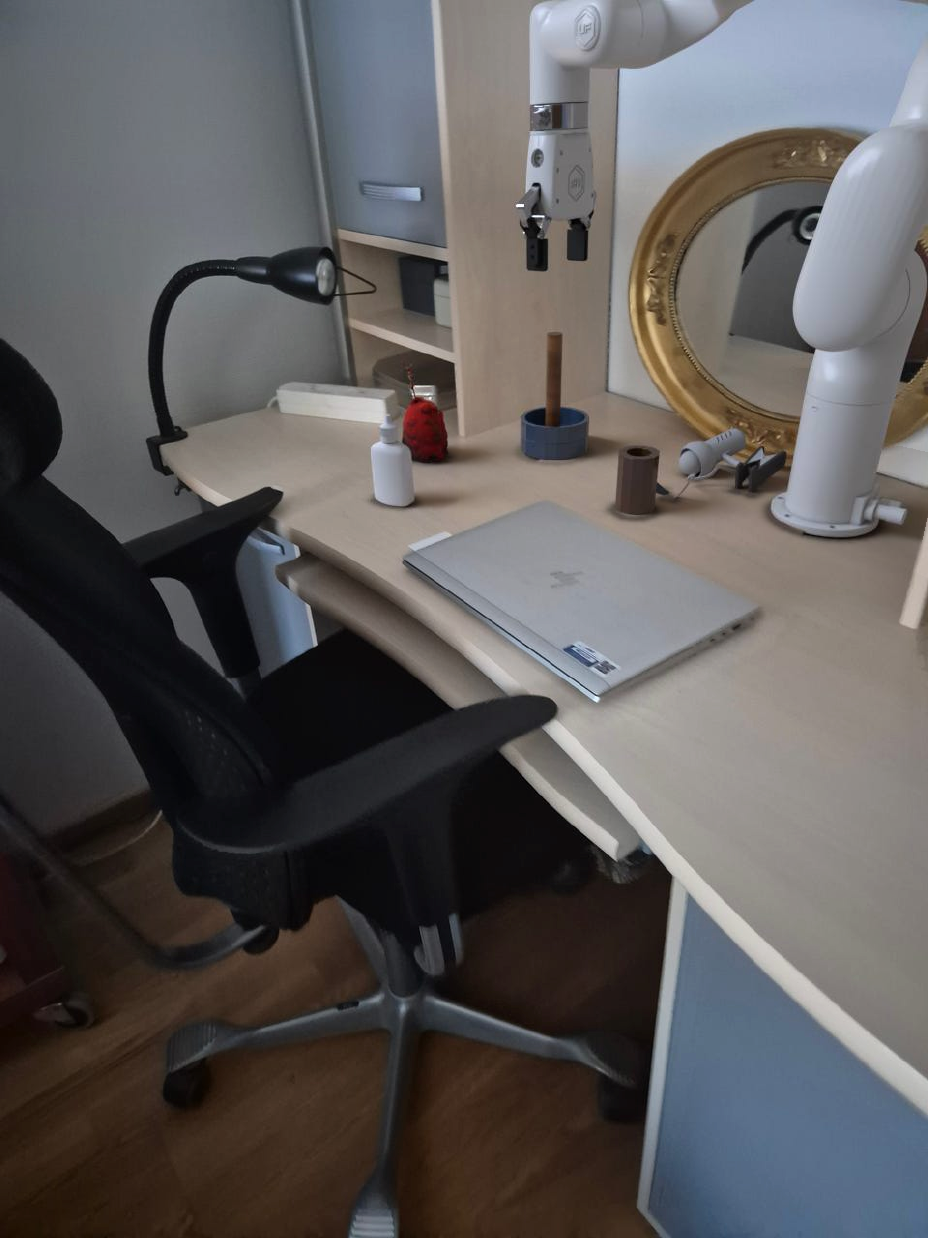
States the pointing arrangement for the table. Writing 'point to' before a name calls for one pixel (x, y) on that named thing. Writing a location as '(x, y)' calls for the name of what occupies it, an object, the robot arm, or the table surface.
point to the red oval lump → (424, 428)
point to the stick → (553, 379)
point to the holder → (636, 479)
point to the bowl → (554, 434)
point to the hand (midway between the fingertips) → (557, 265)
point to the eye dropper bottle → (392, 467)
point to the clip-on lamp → (727, 460)
